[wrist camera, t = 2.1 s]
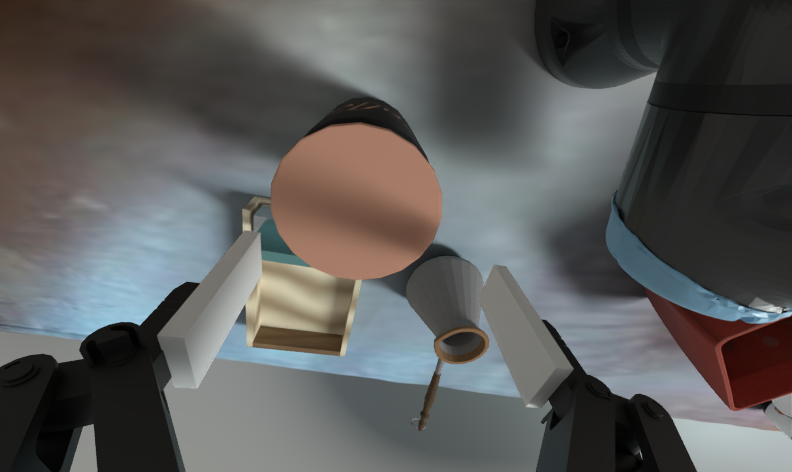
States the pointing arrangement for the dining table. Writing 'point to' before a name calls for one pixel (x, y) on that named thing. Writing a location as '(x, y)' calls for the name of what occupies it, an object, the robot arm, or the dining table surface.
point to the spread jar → (780, 413)
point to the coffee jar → (357, 193)
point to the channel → (298, 304)
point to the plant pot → (733, 353)
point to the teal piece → (273, 239)
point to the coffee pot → (448, 314)
